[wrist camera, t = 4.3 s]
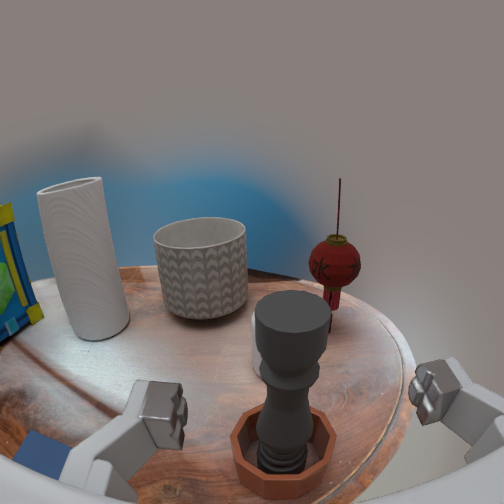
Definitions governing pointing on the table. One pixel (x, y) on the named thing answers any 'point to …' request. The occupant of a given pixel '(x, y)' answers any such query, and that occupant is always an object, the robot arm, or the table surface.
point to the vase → (84, 257)
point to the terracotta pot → (281, 483)
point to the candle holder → (288, 375)
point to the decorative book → (14, 280)
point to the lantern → (334, 265)
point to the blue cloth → (42, 455)
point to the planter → (202, 266)
